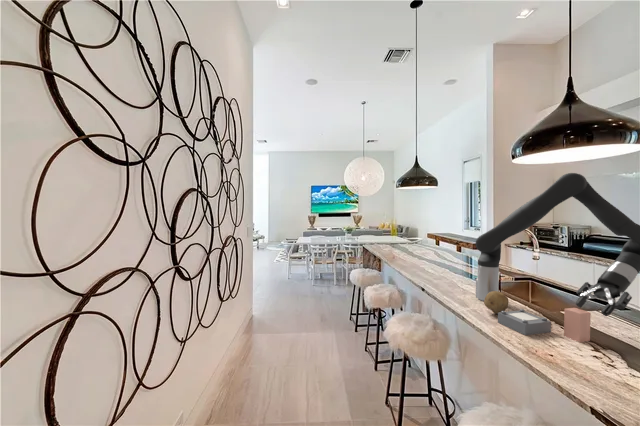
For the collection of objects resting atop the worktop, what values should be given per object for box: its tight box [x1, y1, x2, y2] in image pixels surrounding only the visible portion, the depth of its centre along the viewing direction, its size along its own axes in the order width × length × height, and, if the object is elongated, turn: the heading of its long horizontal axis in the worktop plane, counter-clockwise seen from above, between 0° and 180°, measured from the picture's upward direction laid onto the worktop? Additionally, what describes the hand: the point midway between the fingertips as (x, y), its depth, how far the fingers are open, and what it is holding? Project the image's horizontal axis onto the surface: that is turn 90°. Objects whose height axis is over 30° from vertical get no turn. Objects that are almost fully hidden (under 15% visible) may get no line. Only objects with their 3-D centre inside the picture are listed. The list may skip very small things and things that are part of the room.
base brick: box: [497, 308, 552, 336], centre depth 112 cm, size 12×12×5 cm
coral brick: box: [563, 307, 592, 343], centre depth 103 cm, size 5×5×10 cm
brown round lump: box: [483, 290, 510, 315], centre depth 126 cm, size 9×9×10 cm
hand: (590, 309), depth 103 cm, fingers open, 8 cm apart
